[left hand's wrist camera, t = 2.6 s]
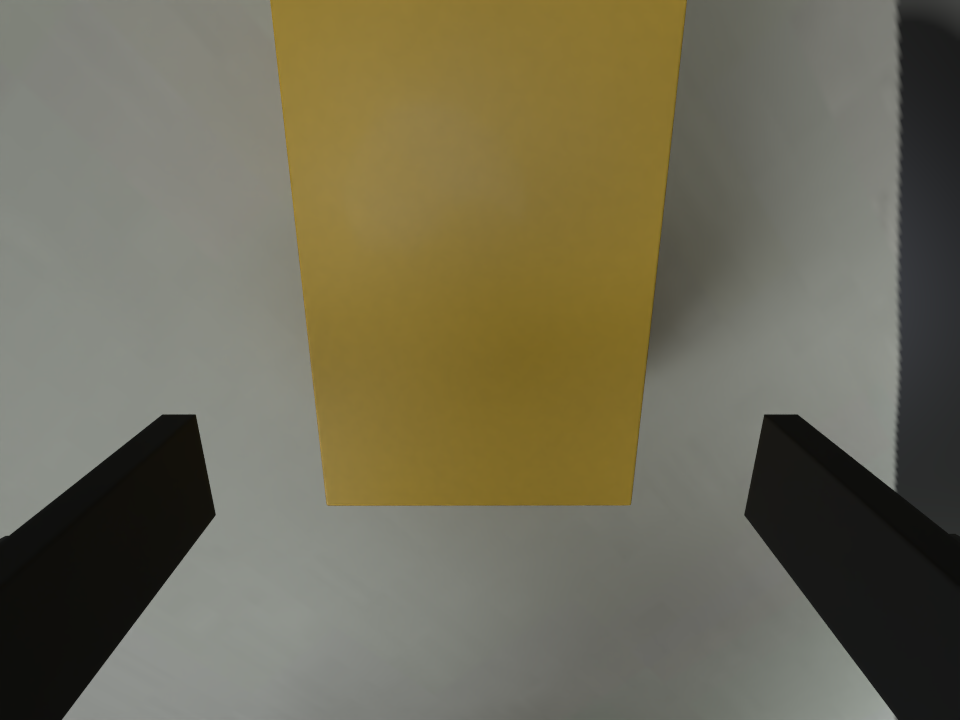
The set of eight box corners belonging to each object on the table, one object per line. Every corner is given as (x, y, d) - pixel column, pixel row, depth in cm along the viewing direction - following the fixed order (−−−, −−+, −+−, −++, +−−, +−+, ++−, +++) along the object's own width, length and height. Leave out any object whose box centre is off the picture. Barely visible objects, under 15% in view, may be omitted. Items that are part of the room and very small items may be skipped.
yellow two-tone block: (335, -43, 21) (249, -167, 13) (621, -42, 21) (706, -167, 13) (369, 409, 28) (325, 506, 20) (588, 409, 28) (631, 506, 20)
